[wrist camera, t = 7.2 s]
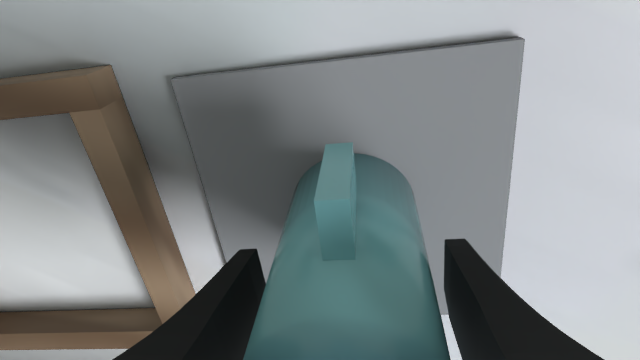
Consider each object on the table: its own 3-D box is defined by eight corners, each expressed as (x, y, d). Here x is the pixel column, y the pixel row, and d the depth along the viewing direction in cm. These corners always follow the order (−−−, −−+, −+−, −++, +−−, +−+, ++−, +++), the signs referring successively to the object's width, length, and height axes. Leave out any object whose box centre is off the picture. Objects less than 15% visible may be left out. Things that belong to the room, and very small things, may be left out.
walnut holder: (206, 323, 21) (196, 347, 20) (-16, 328, 23) (-39, 350, 22) (110, 65, 15) (86, 75, 13) (-183, 101, 17) (-230, 112, 15)
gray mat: (494, 306, 19) (496, 313, 18) (245, 312, 20) (243, 318, 20) (520, 37, 13) (524, 39, 13) (175, 77, 15) (170, 80, 14)
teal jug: (416, 255, 17) (453, 459, 10) (301, 259, 18) (260, 452, 11) (415, 104, 14) (466, 245, 7) (275, 115, 15) (195, 255, 8)
